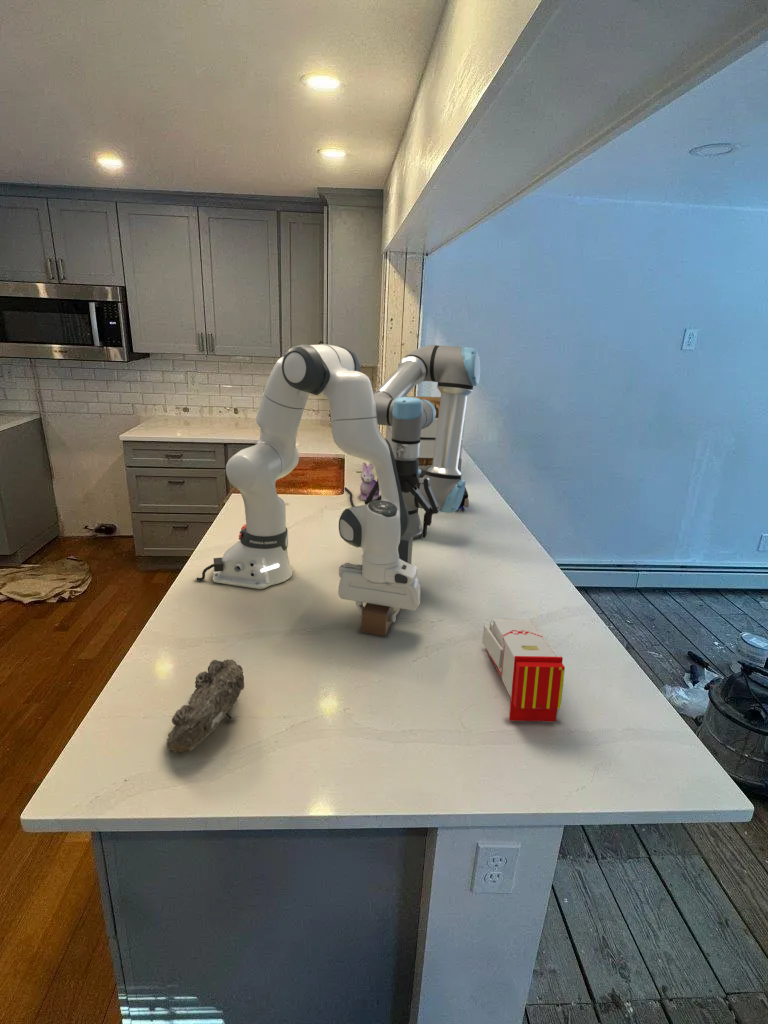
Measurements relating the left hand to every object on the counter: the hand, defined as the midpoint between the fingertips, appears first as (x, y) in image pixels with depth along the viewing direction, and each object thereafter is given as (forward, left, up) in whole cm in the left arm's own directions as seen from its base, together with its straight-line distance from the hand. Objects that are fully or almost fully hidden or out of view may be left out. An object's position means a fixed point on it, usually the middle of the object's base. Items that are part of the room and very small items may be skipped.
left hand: (378, 618), depth 141 cm
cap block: (+5, +21, +4) cm, 22 cm away
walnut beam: (+2, +11, -2) cm, 11 cm away
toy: (+31, -19, -2) cm, 36 cm away
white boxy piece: (+15, +142, -2) cm, 143 cm away
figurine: (-7, +100, -2) cm, 101 cm away
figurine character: (+29, +94, -2) cm, 99 cm away
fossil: (-30, -36, -2) cm, 47 cm away
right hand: (+5, +21, +15) cm, 26 cm away
